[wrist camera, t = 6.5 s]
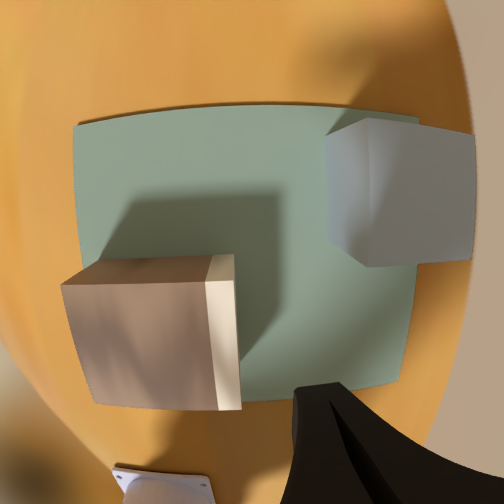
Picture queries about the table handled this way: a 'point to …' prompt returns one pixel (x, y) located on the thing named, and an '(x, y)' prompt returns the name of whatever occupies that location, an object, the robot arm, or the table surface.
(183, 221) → the felt mat
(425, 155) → the gray block
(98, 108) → the table surface
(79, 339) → the walnut block
